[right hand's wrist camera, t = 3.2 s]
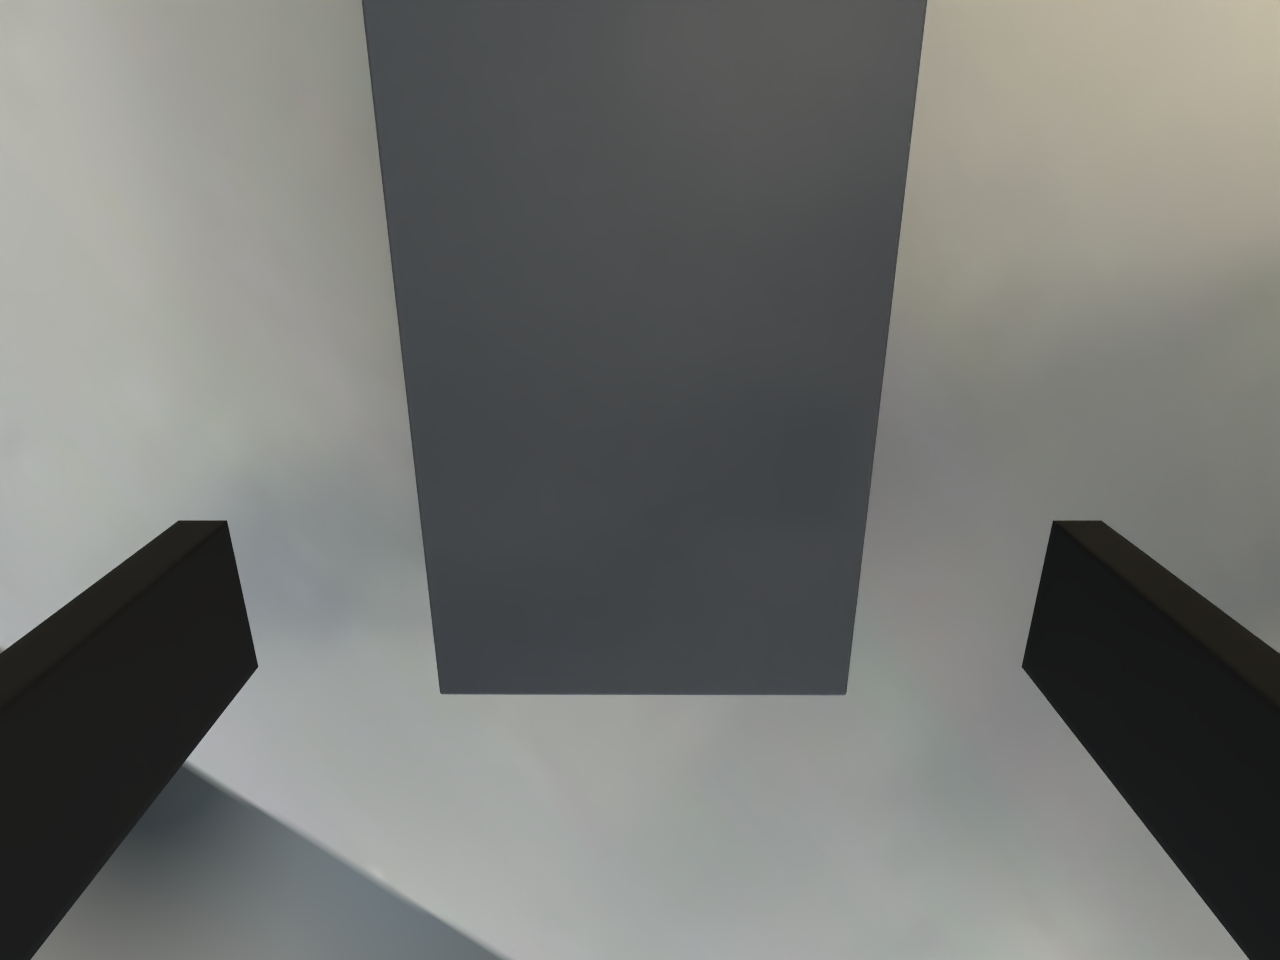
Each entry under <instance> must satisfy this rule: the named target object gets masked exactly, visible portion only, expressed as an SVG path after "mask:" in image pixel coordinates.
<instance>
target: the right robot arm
mask: <svg viewBox="0 0 1280 960" xmlns="http://www.w3.org/2000/svg"><path fill="white" fill-rule="evenodd" d="M257 668H258V663H257V659H256V654H255V649H254V645H253V640H252V635H251V631H250V626H249V621H248V617H247V612H246V607H245V603H244V598H243V593H242V589H241V584H240V579H239V575H238V570H237V565H236V561H235V556H234V551H233V547H232V542H231V537H230V533H229V528H228V523H227V521H177V522H176V523H175V524H173V525H172V526H171V527H169V528H168V529H167V530H165V531H164V532H163V533H161V534H160V535H159V536H157V537H156V538H155V539H153V540H152V541H151V542H149V543H148V544H147V545H145V546H144V547H143V548H141V549H140V550H139V551H137V552H136V553H135V554H133V555H132V556H131V557H129V558H128V559H127V560H125V561H124V562H123V563H121V564H120V565H119V566H117V567H116V568H115V569H113V570H112V571H111V572H109V573H108V574H107V575H105V576H104V577H103V578H101V579H100V580H99V581H97V582H96V583H94V584H93V585H92V586H90V587H89V588H88V589H86V590H85V591H84V592H82V593H81V594H80V595H78V596H77V597H76V598H74V599H73V600H72V601H70V602H69V603H68V604H66V605H65V606H64V607H62V608H61V609H60V610H58V611H57V612H56V613H54V614H53V615H52V616H50V617H49V618H48V619H46V620H45V621H44V622H42V623H41V624H40V625H38V626H37V627H36V628H34V629H33V630H32V631H30V632H29V633H28V634H26V635H25V636H24V637H22V638H21V639H20V640H18V641H17V642H16V643H14V644H13V645H11V646H10V647H9V648H7V649H6V650H5V651H3V652H2V653H1V654H0V960H30V959H31V958H32V957H33V956H34V954H35V953H36V952H37V950H38V949H39V948H40V947H41V945H42V944H43V943H44V942H45V940H46V939H47V938H48V936H49V935H50V934H51V932H52V931H53V930H54V929H55V927H56V926H57V925H58V923H59V922H60V921H61V920H62V918H63V917H64V916H65V915H66V913H67V912H68V911H69V909H70V908H71V907H72V906H73V904H74V903H75V902H76V900H77V899H78V898H79V897H80V895H81V894H82V893H83V891H84V890H85V889H86V888H87V886H88V885H89V884H90V882H91V881H92V880H93V879H94V877H95V876H96V875H97V873H98V872H99V871H100V870H101V868H102V867H103V866H104V864H105V863H106V862H107V861H108V859H109V858H110V857H111V855H112V854H113V853H114V852H115V850H116V849H117V848H118V846H119V845H120V844H121V843H122V841H123V840H124V839H125V837H126V836H127V835H128V834H129V832H130V831H131V830H132V828H133V827H134V826H135V825H136V823H137V822H138V821H139V819H140V818H141V817H142V816H143V814H144V813H145V812H146V810H147V809H148V808H149V807H150V805H151V804H152V803H153V801H154V800H155V799H156V798H157V796H158V795H159V794H160V792H161V791H162V790H163V788H164V787H165V786H166V785H167V783H168V782H169V781H170V780H171V778H172V777H173V776H174V774H175V773H176V772H177V771H178V769H179V768H180V767H181V765H182V764H183V763H184V762H185V760H186V759H187V758H188V756H189V755H190V754H191V753H192V751H193V750H194V749H195V747H196V746H197V745H198V744H199V742H200V741H201V740H202V738H203V737H204V736H205V735H206V733H207V732H208V731H209V729H210V728H211V727H212V726H213V724H214V723H215V722H216V720H217V719H218V718H219V717H220V715H221V714H222V713H223V711H224V710H225V709H226V708H227V706H228V705H229V704H230V702H231V701H232V700H233V699H234V697H235V696H236V695H237V693H238V692H239V691H240V690H241V688H242V687H243V686H244V684H245V683H246V682H247V681H248V679H249V678H250V677H251V675H252V674H253V673H254V672H255V670H256V669H257ZM1022 668H1023V669H1024V670H1025V672H1026V673H1027V674H1028V675H1029V677H1030V678H1031V679H1032V681H1033V682H1034V683H1035V684H1036V686H1037V687H1038V688H1039V690H1040V691H1041V692H1042V693H1043V695H1044V696H1045V697H1046V699H1047V700H1048V701H1049V702H1050V704H1051V705H1052V706H1053V708H1054V709H1055V710H1056V711H1057V713H1058V714H1059V715H1060V717H1061V718H1062V719H1063V720H1064V722H1065V723H1066V724H1067V726H1068V727H1069V728H1070V729H1071V731H1072V732H1073V733H1074V735H1075V736H1076V737H1077V738H1078V740H1079V741H1080V742H1081V744H1082V745H1083V746H1084V747H1085V749H1086V750H1087V751H1088V753H1089V754H1090V755H1091V756H1092V758H1093V759H1094V760H1095V762H1096V763H1097V764H1098V765H1099V767H1100V768H1101V769H1102V771H1103V772H1104V773H1105V774H1106V776H1107V777H1108V778H1109V780H1110V781H1111V782H1112V783H1113V785H1114V786H1115V787H1116V789H1117V790H1118V791H1119V792H1120V794H1121V795H1122V796H1123V798H1124V799H1125V800H1126V801H1127V803H1128V804H1129V805H1130V807H1131V808H1132V809H1133V810H1134V812H1135V813H1136V814H1137V816H1138V817H1139V818H1140V819H1141V821H1142V822H1143V823H1144V825H1145V826H1146V827H1147V828H1148V830H1149V831H1150V832H1151V834H1152V835H1153V836H1154V837H1155V839H1156V840H1157V841H1158V843H1159V844H1160V845H1161V846H1162V848H1163V849H1164V850H1165V852H1166V853H1167V854H1168V855H1169V857H1170V858H1171V859H1172V861H1173V862H1174V863H1175V864H1176V866H1177V867H1178V868H1179V870H1180V871H1181V872H1182V873H1183V875H1184V876H1185V877H1186V879H1187V880H1188V881H1189V882H1190V884H1191V885H1192V886H1193V888H1194V889H1195V890H1196V891H1197V893H1198V894H1199V895H1200V897H1201V898H1202V899H1203V900H1204V902H1205V903H1206V904H1207V906H1208V907H1209V908H1210V909H1211V911H1212V912H1213V913H1214V915H1215V916H1216V917H1217V918H1218V920H1219V921H1220V922H1221V924H1222V925H1223V926H1224V927H1225V929H1226V930H1227V931H1228V933H1229V934H1230V935H1231V936H1232V938H1233V939H1234V940H1235V942H1236V943H1237V944H1238V945H1239V947H1240V948H1241V949H1242V951H1243V952H1244V953H1245V954H1246V956H1247V957H1248V958H1249V960H1280V654H1279V653H1278V652H1277V651H1275V650H1274V649H1273V648H1271V647H1270V646H1269V645H1267V644H1266V643H1264V642H1263V641H1262V640H1260V639H1259V638H1258V637H1256V636H1255V635H1254V634H1252V633H1251V632H1250V631H1248V630H1247V629H1246V628H1244V627H1243V626H1242V625H1240V624H1239V623H1238V622H1236V621H1235V620H1234V619H1232V618H1231V617H1230V616H1228V615H1227V614H1226V613H1224V612H1223V611H1222V610H1220V609H1219V608H1218V607H1216V606H1215V605H1214V604H1212V603H1211V602H1210V601H1208V600H1207V599H1206V598H1204V597H1203V596H1202V595H1200V594H1199V593H1198V592H1196V591H1195V590H1194V589H1192V588H1191V587H1190V586H1188V585H1187V584H1186V583H1184V582H1183V581H1181V580H1180V579H1179V578H1177V577H1176V576H1175V575H1173V574H1172V573H1171V572H1169V571H1168V570H1167V569H1165V568H1164V567H1163V566H1161V565H1160V564H1159V563H1157V562H1156V561H1155V560H1153V559H1152V558H1151V557H1149V556H1148V555H1147V554H1145V553H1144V552H1143V551H1141V550H1140V549H1139V548H1137V547H1136V546H1135V545H1133V544H1132V543H1131V542H1129V541H1128V540H1127V539H1125V538H1124V537H1123V536H1121V535H1120V534H1119V533H1117V532H1116V531H1115V530H1113V529H1112V528H1111V527H1109V526H1108V525H1107V524H1105V523H1104V522H1103V521H1053V523H1052V528H1051V533H1050V537H1049V542H1048V547H1047V551H1046V556H1045V561H1044V565H1043V570H1042V575H1041V579H1040V584H1039V589H1038V593H1037V598H1036V603H1035V607H1034V612H1033V617H1032V621H1031V626H1030V631H1029V635H1028V640H1027V645H1026V649H1025V654H1024V659H1023V663H1022Z"/></svg>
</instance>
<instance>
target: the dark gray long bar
mask: <svg viewBox="0 0 1280 960" xmlns="http://www.w3.org/2000/svg"><path fill="white" fill-rule="evenodd" d="M926 5H927V0H362V6H363V15H364V24H365V33H366V42H367V50H368V59H369V68H370V77H371V86H372V95H373V104H374V112H375V121H376V130H377V139H378V148H379V157H380V165H381V174H382V183H383V192H384V201H385V210H386V218H387V227H388V236H389V245H390V254H391V263H392V272H393V280H394V289H395V298H396V307H397V316H398V325H399V333H400V342H401V351H402V360H403V369H404V378H405V386H406V395H407V404H408V413H409V422H410V431H411V440H412V448H413V457H414V466H415V475H416V484H417V493H418V501H419V510H420V519H421V528H422V537H423V546H424V555H425V563H426V572H427V581H428V590H429V599H430V608H431V616H432V625H433V634H434V643H435V652H436V661H437V669H438V678H439V687H440V693H441V694H556V695H845V694H846V691H847V682H848V673H849V665H850V656H851V648H852V639H853V631H854V622H855V614H856V605H857V596H858V588H859V579H860V571H861V562H862V554H863V545H864V536H865V528H866V519H867V511H868V502H869V494H870V485H871V477H872V468H873V459H874V451H875V442H876V434H877V425H878V417H879V408H880V399H881V391H882V382H883V374H884V365H885V357H886V348H887V339H888V331H889V322H890V314H891V305H892V297H893V288H894V280H895V271H896V262H897V254H898V245H899V237H900V228H901V220H902V211H903V202H904V194H905V185H906V177H907V168H908V160H909V151H910V142H911V134H912V125H913V117H914V108H915V100H916V91H917V83H918V74H919V65H920V57H921V48H922V40H923V31H924V23H925V14H926Z"/></svg>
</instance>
